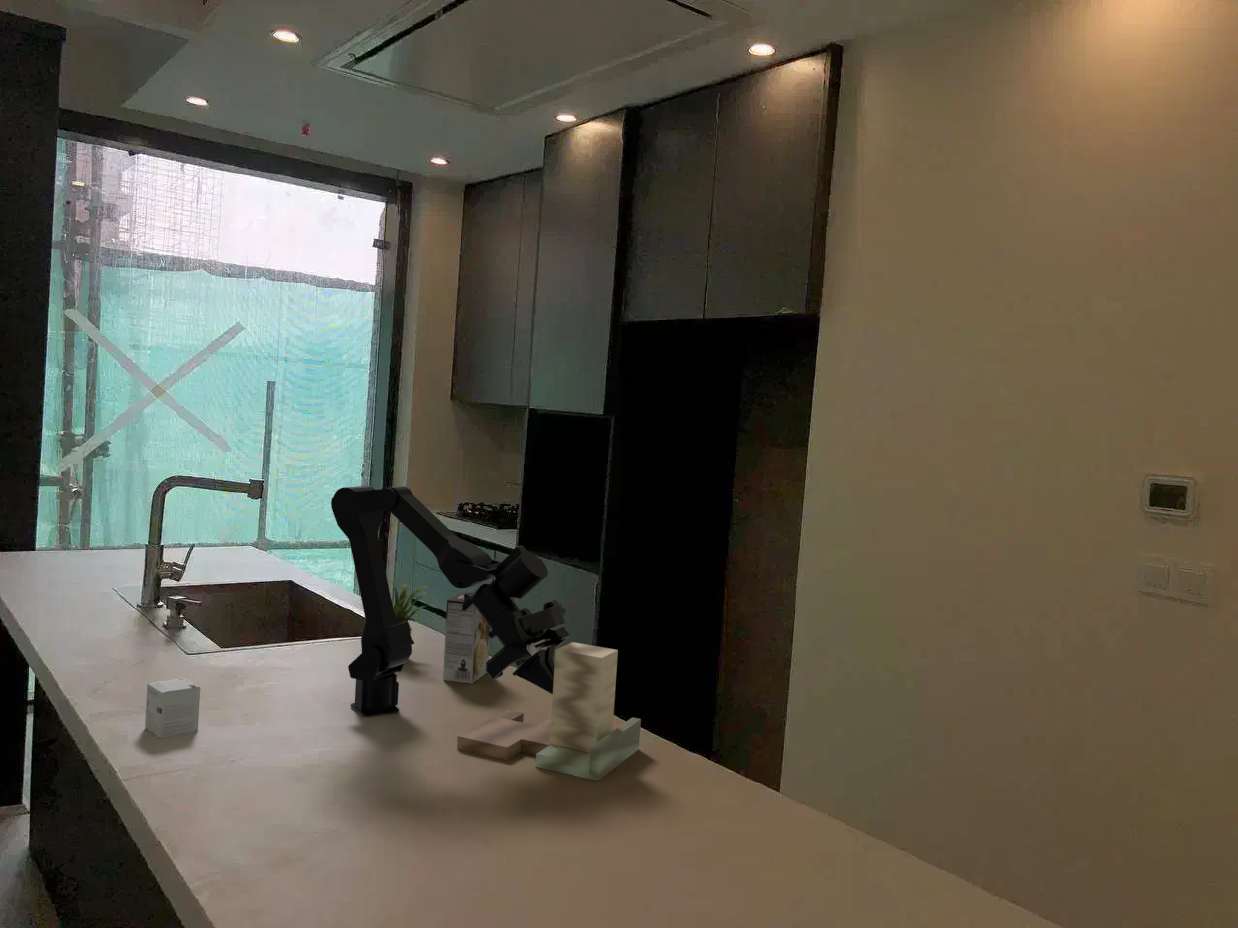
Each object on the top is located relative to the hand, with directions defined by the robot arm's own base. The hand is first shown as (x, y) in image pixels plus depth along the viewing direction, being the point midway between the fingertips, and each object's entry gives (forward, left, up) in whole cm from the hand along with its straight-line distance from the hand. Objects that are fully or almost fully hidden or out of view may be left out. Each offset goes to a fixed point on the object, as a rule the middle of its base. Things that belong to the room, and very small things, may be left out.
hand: (559, 694), depth 156 cm
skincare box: (-50, +35, -9) cm, 61 cm away
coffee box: (+6, +43, -9) cm, 44 cm away
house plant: (0, +61, -9) cm, 61 cm away
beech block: (+2, -4, -7) cm, 8 cm away
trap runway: (-1, +1, -9) cm, 9 cm away
